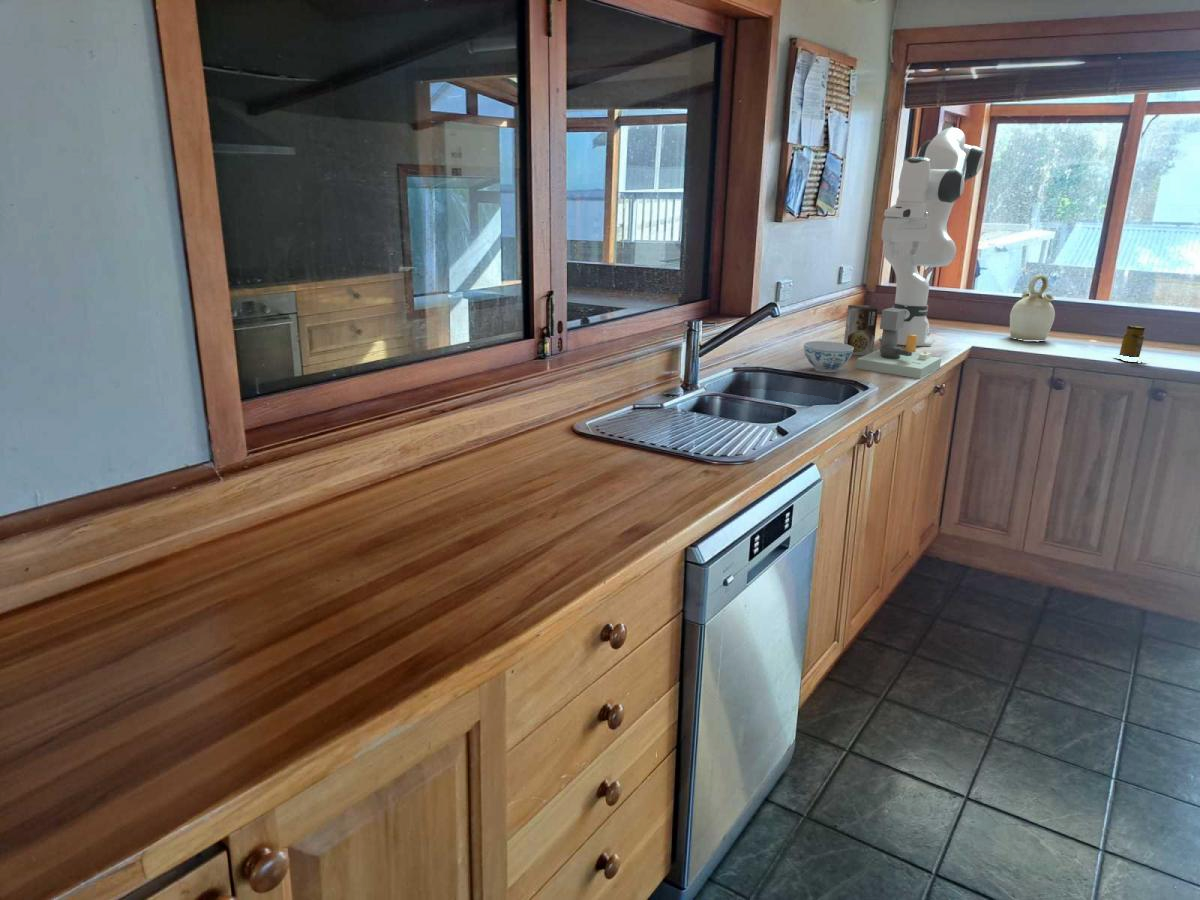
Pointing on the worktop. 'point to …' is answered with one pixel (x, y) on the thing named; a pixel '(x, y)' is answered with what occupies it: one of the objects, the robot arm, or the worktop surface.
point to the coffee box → (861, 328)
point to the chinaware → (827, 355)
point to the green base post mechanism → (905, 364)
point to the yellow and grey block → (896, 351)
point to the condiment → (1132, 341)
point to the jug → (1033, 313)
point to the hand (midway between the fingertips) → (903, 256)
